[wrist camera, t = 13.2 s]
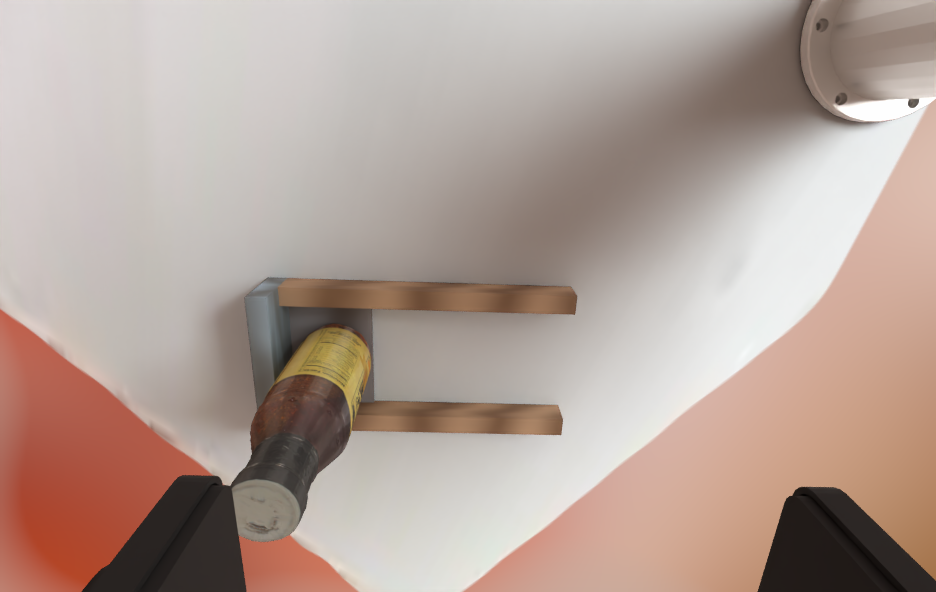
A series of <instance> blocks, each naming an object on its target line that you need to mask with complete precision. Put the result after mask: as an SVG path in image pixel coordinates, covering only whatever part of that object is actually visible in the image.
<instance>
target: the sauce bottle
mask: <svg viewBox="0 0 936 592" xmlns="http://www.w3.org/2000/svg"><path fill="white" fill-rule="evenodd" d="M371 359H372V357H371V354H370V350H369V346H368V344H367V342H366V341H365V339H364V337H363V336H362V335H361V334H360V333H359V332H357V331H356V330H354V329H352V328H350V327H347V326H345V325H340V324H330V325H325V326H323V327H321V328H319V329H317V330H315V331H313V332H312V333H310V334H309V335H308V337H307V338H306V340H304V341H303V342H302V343H301V345H300V346H299V347H298V349H297V350H296V352H295V353H294V355H293V356H292V358H291V359H290V360H289V362H288V363H287V365H286V366H285V368H284V369H283V371H282V372H281V374H280V375H279V377H278V378H277V380H276V381H275V383H274V384H273V386H272V387H271V389H270V390H269V391H268V393H267V395H266V396H265V399H264V401H263V403H262V404H261V406H260V407H259V408H258V411H257V412H256V414H255V417H254V419H253V422H252V424H251V431H250V435H251V440H250V441H251V450H252V455H251V459H250V461H249V462H248V464H247V466H246V467H245V469H243V470H242V471H241V472H240V473H239V474H238V476H237V477H236V478H235V480H234V481H233V482H232V484H231V486H230V487H231V489H232V493H233V500H234V507H235V514H236V521H237V528H238V535H239V536H241V537H244V538H246V539H249V540H251V541H258V542H268V541H274V540H279V539H282V538H284V537H286V536H288V535H290V534H291V533H292V532H293V531H294V530H295V529H296V527H297V526H298V524H299V522H300V520H301V518H302V515H303V513H304V511H305V509H306V505H307V499H308V496H307V494H308V491H309V489H310V485H311V483H312V482H313V481H314V479H315V477H316V475H317V474H318V473H319V472H320V471H321V470H323V469H324V468H325V467H326V466H327V465H329V464H330V463H331V462H332V461H333V460H335V459H336V458H337V457H338V456H339V455H340V454H341V453H342V452H343V450H344V449H345V447H346V445H347V442H348V440H349V437H350V434H351V431H352V427H353V424H354V421H355V417H356V414H357V411H358V408H359V405H360V402H361V399H362V395H363V392H364V389H365V386H366V383H367V380H368V376H369V373H370V369H371Z"/></svg>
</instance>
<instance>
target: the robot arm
mask: <svg viewBox="0 0 936 592" xmlns="http://www.w3.org/2000/svg"><path fill="white" fill-rule="evenodd" d="M816 25H817V28H816ZM800 53H801V66H802V70H803V74H804V77H805V81H806V83H807V85H808V87H809V89H810V91H811V93H812V95H813V96H814V97H815V99H816V100H817V101H818V102H819V103H820V104H821V105H822V107H824V108H825V109H827V110H828V111H829V112H831V113H832V114H834V115H836V116H839V117H841V118H844V119H846V120H851V121H857V122H883V121H889V120H895V119H898V118H901V117H903V116H906V115H909V114H912V113H913V112H915V111H917V110H919V109H921V108H923V107H924V106H926V105H928V104H929V103H930V102H932V101H933V100H934V99H936V0H813V1H812V3H811V5H810V8H809V10H808V12H807V15H806V19H805V23H804V26H803V30H802V37H801V47H800ZM82 592H246V585H245V578H244V571H243V564H242V557H241V549H240V543H239V535H238V528H237V521H236V514H235V507H234V500H233V493H232V489H231V487H230V486H227V485H223V484H222V481H221V479H220V478H219V477H218V476H194V475H193V476H192V475H182V476H180V477H178V478H177V479H176V480H175V481H174V482H173V484H172V485H171V486H170V487H169V489H168V490H167V491H166V492H165V494H164V495H163V496H162V498H161V499H160V500H159V501H158V503H157V504H156V505H155V507H154V508H153V509H152V510H151V512H150V513H149V514H148V516H147V517H146V518H145V519H144V521H143V522H142V523H141V525H140V526H139V527H138V528H137V530H136V531H135V532H134V534H133V535H132V536H131V537H130V539H129V540H128V541H127V542H126V544H125V545H124V546H123V548H122V549H121V550H120V552H119V553H118V554H117V555H116V557H115V558H114V559H113V561H112V562H111V563H110V564H109V565H107V566H106V567H104V568H102V569H101V570H100V571H99V572H98V573H97V574H96V575H95V576H94V577H93V578H92V580H91V581H90V582H89V583H88V584H87V586H86V587H85V588H84V589H83V591H82ZM758 592H936V581H935V580H934V579H933V578H932V577H931V576H930V575H929V574H928V573H927V572H926V571H925V570H924V569H923V568H922V567H921V566H920V565H919V564H918V563H917V562H916V561H915V560H914V559H913V558H911V556H910V555H909V554H908V553H907V552H905V551H904V550H903V549H902V548H901V547H900V546H899V545H898V544H897V543H896V542H895V541H894V540H893V539H892V538H891V537H890V536H889V535H888V534H887V533H886V532H885V531H883V529H882V528H881V527H880V526H879V525H878V524H877V523H876V522H875V521H874V520H873V519H871V518H870V517H869V516H868V515H867V514H866V513H865V512H864V511H863V510H862V509H861V508H860V507H859V506H858V505H857V504H856V503H855V502H854V501H853V500H852V499H851V498H850V497H849V496H848V495H847V494H846V493H844V492H843V491H842V490H840V489H837V488H834V487H830V488H829V487H800V488H798V489H796V490H795V492H794V494H793V496H789V497H788V498H787V499H786V501H785V503H784V507H783V510H782V513H781V516H780V520H779V523H778V526H777V529H776V533H775V536H774V539H773V543H772V546H771V549H770V553H769V556H768V559H767V563H766V566H765V569H764V572H763V576H762V579H761V583H760V586H759V589H758Z"/></svg>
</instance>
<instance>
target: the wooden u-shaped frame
mask: <svg viewBox="0 0 936 592" xmlns="http://www.w3.org/2000/svg"><path fill="white" fill-rule="evenodd" d="M576 303H577V295H576V294H575V292H574V291H573V289H572V288H571V287H561V286H528V285H495V284H462V283H429V282H396V281H363V280H330V279H297V278H267V279H266V280H265V281H263V282H262V283H261V284H260V285H259V286H258V287H256V288H255V289H254V290H253V291H252V292H250V293H249V294H248V295H247V296H246V297H245V307H246V316H247V324H248V333H249V342H250V351H251V359H252V368H253V377H254V385H255V394H256V403H257V411H258V408H259V407H260V406H261V404H262V403H263V401H264V399H265V396H266V395H267V393H268V391H269V390H270V389H271V387H272V386H273V384H274V383H275V381H276V380H277V378H278V377H279V375H280V374H281V372H282V371H283V369H284V368H285V366H286V365H287V363H288V362H289V360H290V359H291V358H292V356H293V355H294V353H295V352H296V350H297V349H298V347H299V346H300V345H301V343H302V342H303V341H304V340H306V338H307V337H308V335H309V334H310V333H312V332H313V331H315V330H317V329H319V328H321V327H323V326H325V325H330V324H340V325H345V326H347V327H350V328H352V329H354V330H356V331H357V332H359V333H360V334H361V335H362V336H363V337H364V339H365V341H366V342H367V344H368V346H369V350H370V354H371V357H372V359H371V369H370V373H369V376H368V380H367V383H366V386H365V389H364V392H363V395H362V399H361V402H360V405H359V408H358V411H357V414H356V417H355V421H354V424H353V427H352V431H396V432H442V433H489V434H535V435H561V432H562V424H563V418H562V415H561V413H560V410H559V407H558V405H530V404H487V403H444V402H401V401H374V372H373V335H372V309H399V310H434V311H469V312H504V313H539V314H574V315H575V311H576Z"/></svg>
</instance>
